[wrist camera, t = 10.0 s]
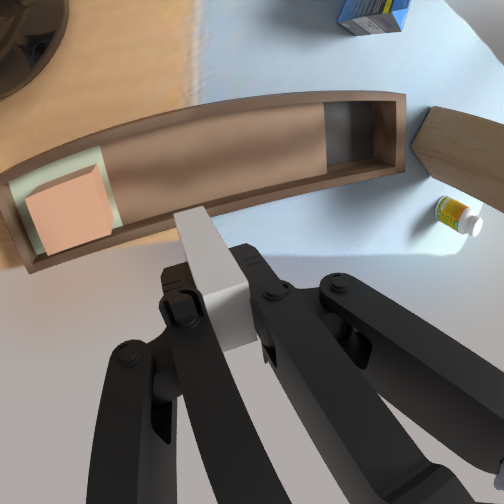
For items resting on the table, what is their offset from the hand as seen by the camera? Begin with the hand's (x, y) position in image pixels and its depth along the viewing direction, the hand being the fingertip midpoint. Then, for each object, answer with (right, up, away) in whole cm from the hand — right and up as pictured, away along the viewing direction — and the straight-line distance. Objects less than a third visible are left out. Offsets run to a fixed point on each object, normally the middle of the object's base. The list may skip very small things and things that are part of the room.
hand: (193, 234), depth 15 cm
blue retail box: (+17, +31, +12) cm, 38 cm away
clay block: (-15, +4, +11) cm, 19 cm away
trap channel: (-1, +10, +17) cm, 20 cm away
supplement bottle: (+41, +8, +36) cm, 55 cm away
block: (+34, +18, +27) cm, 47 cm away
